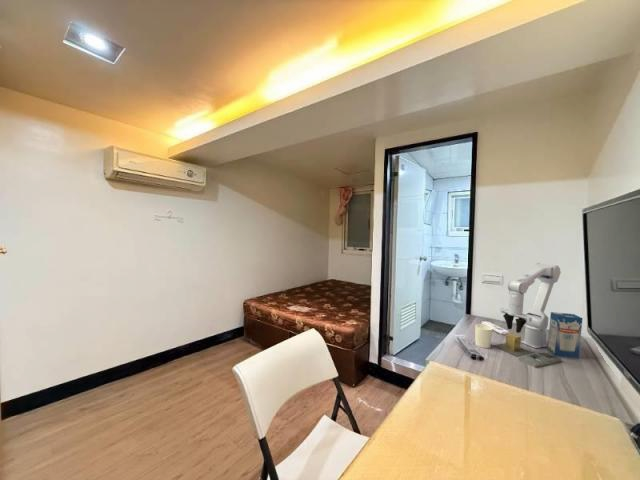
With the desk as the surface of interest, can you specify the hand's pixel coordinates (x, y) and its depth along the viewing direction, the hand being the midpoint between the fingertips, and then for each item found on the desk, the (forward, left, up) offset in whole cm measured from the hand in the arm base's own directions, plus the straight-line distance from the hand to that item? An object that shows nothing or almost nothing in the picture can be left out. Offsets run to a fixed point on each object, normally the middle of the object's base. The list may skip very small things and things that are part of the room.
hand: (513, 330), depth 137 cm
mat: (0, 0, -10) cm, 10 cm away
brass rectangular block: (0, 0, -10) cm, 10 cm away
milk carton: (-20, +11, -10) cm, 25 cm away
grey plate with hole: (-1, +12, -10) cm, 16 cm away
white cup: (+11, -8, -10) cm, 17 cm away
